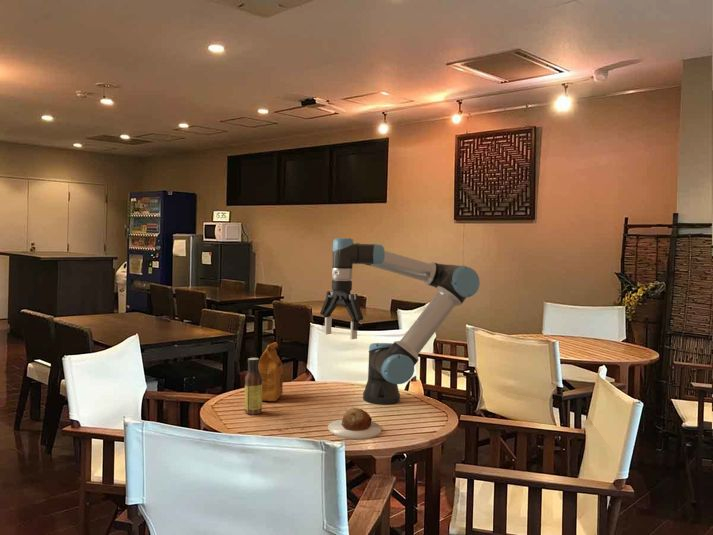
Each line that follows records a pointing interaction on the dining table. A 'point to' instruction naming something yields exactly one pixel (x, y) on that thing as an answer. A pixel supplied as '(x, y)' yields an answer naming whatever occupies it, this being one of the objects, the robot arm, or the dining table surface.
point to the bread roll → (356, 420)
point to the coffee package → (271, 374)
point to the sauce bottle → (253, 388)
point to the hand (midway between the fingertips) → (340, 336)
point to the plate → (341, 432)
